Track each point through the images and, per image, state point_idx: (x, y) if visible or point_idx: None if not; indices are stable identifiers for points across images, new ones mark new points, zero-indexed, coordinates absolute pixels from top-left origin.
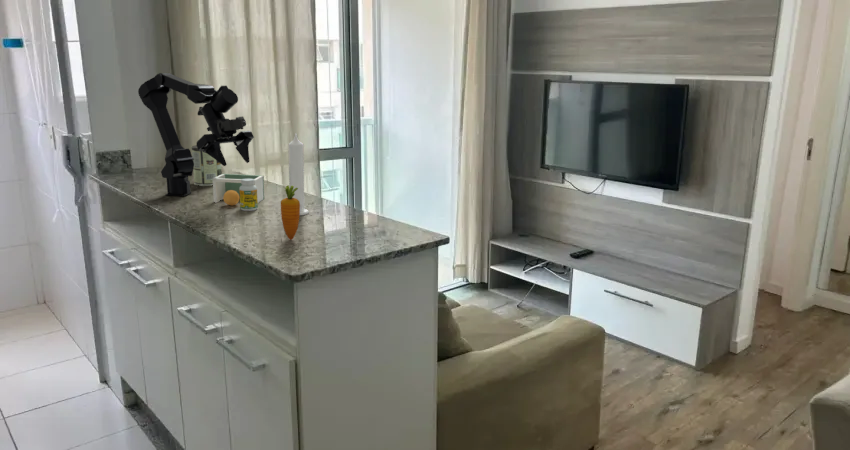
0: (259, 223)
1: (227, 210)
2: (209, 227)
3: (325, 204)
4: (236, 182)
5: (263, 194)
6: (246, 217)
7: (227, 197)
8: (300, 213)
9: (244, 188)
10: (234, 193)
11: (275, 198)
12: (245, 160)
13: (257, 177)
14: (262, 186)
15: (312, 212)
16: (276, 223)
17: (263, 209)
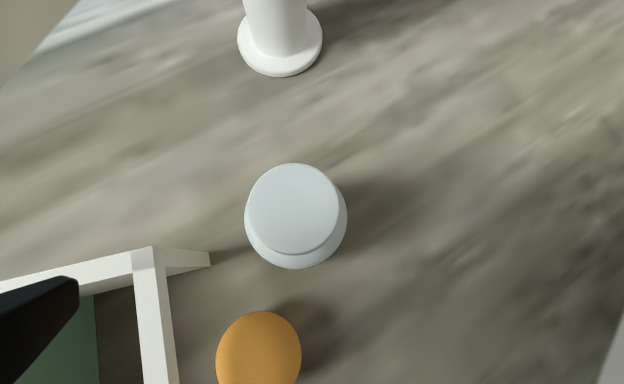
0: (472, 81)
1: (360, 302)
2: (616, 201)
3: (109, 15)
4: (178, 381)
5: None
6: (423, 164)
7: (299, 356)
8: (309, 10)
9: (344, 210)
10: (268, 332)
11: (57, 238)
12: (46, 338)
13: None
14: None
15: None
16: (442, 35)
17: None
